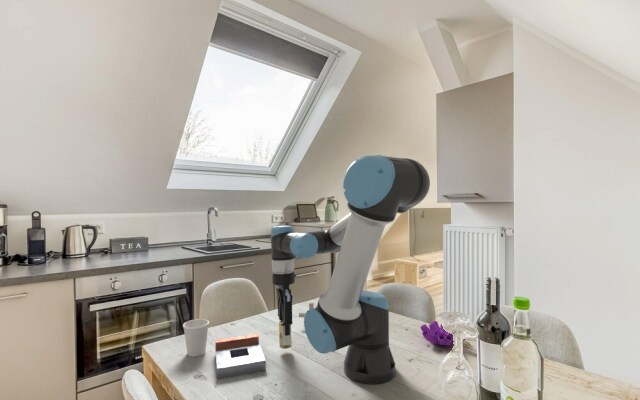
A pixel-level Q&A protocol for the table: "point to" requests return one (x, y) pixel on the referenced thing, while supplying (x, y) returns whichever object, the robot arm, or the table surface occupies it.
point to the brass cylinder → (282, 337)
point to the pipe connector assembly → (437, 334)
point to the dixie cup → (196, 336)
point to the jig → (239, 356)
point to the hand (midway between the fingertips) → (285, 342)
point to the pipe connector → (311, 305)
